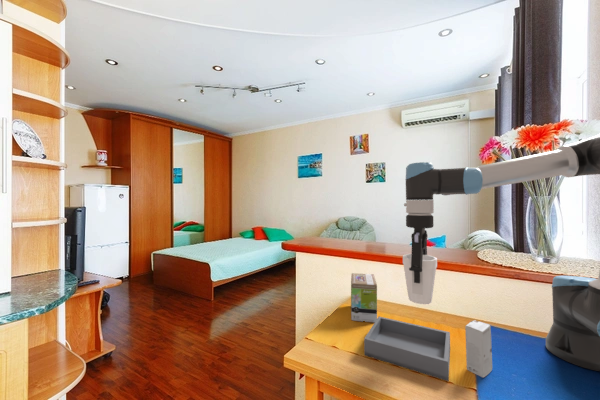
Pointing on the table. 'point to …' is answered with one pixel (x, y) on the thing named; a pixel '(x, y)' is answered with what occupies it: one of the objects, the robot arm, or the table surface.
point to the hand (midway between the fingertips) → (420, 288)
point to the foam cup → (428, 278)
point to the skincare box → (478, 348)
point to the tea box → (363, 297)
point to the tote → (410, 346)
